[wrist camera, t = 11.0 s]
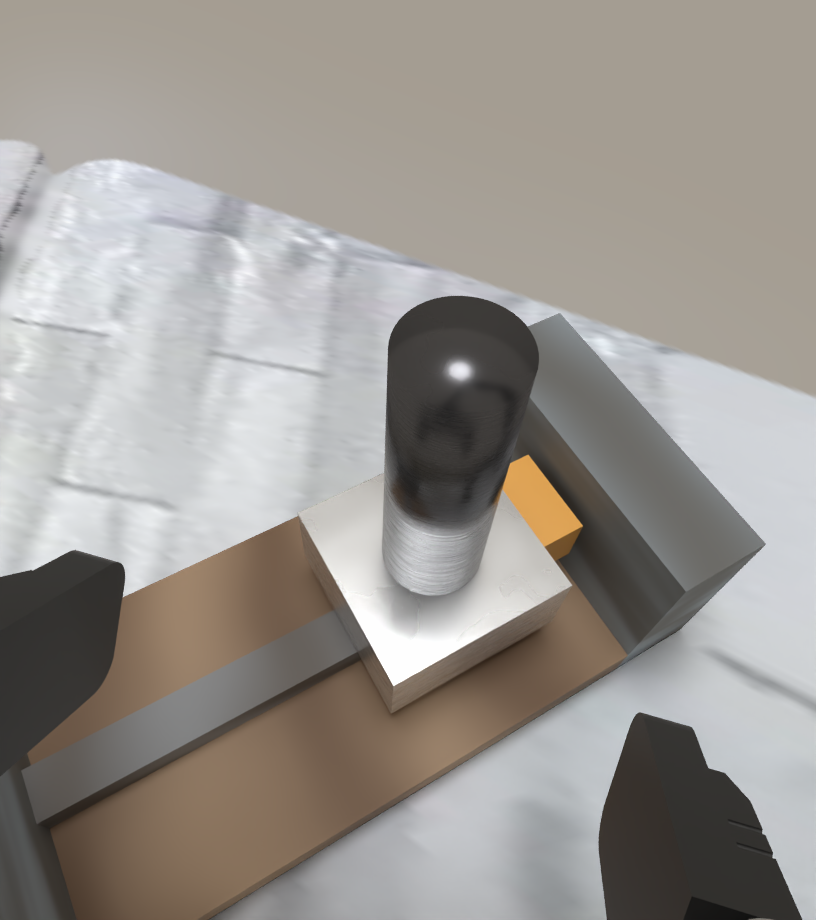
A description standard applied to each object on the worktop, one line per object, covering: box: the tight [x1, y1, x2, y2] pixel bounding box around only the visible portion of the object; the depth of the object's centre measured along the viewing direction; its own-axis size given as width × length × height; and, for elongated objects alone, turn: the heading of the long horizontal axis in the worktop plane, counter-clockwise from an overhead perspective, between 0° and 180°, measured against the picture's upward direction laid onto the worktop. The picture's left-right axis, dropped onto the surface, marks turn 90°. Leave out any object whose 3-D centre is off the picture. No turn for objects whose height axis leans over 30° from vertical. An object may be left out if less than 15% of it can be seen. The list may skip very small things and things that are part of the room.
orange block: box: [503, 455, 583, 561], centre depth 25 cm, size 2×3×2 cm, turn 30°
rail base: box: [0, 313, 766, 920], centre depth 23 cm, size 24×10×7 cm, turn 120°
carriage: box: [298, 296, 572, 713], centre depth 20 cm, size 6×6×12 cm
